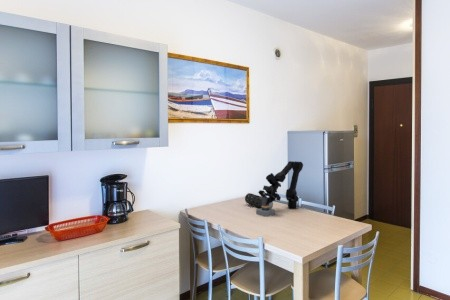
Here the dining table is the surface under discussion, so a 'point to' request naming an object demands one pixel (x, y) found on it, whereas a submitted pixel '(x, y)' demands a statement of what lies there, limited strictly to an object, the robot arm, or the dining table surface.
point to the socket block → (265, 212)
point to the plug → (264, 201)
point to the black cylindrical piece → (255, 200)
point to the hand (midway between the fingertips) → (264, 204)
